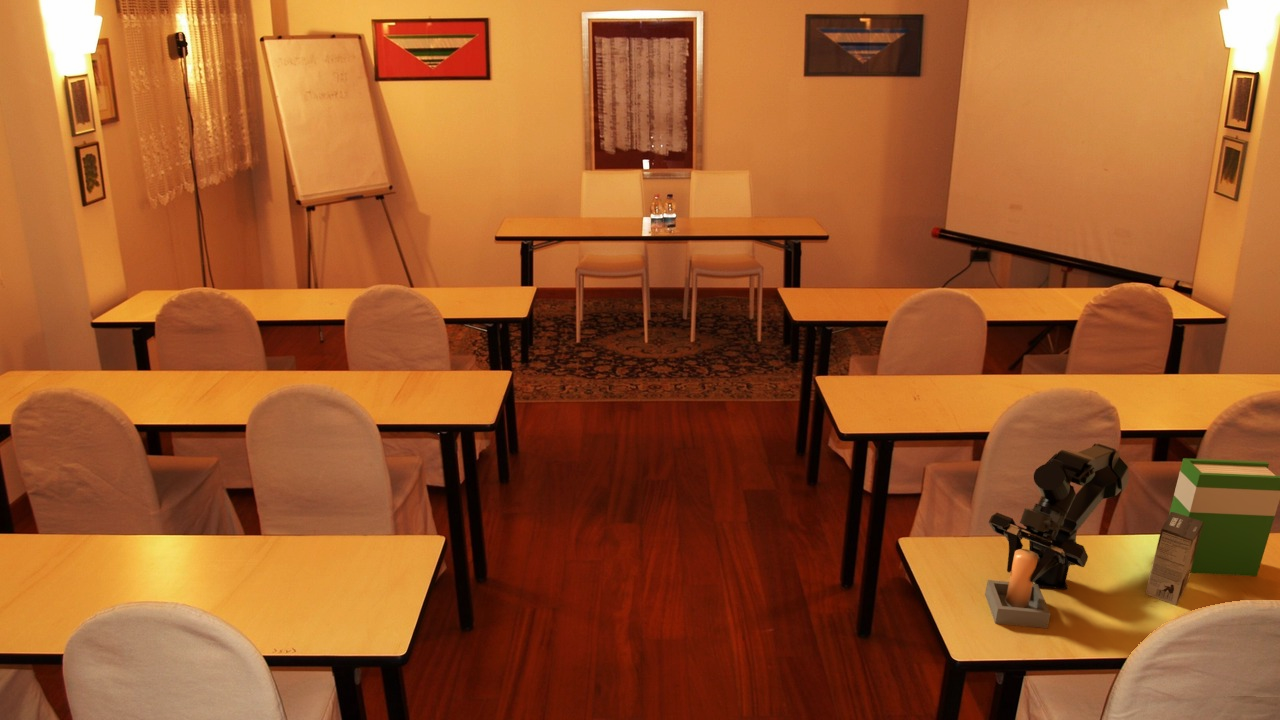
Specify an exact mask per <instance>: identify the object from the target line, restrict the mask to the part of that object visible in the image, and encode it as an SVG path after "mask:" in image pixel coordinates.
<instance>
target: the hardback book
mask: <svg viewBox="0 0 1280 720" xmlns="http://www.w3.org/2000/svg"><path fill="white" fill-rule="evenodd" d="M1181 462H1182V463H1181V466H1180V470H1179V472H1178V478H1177V482H1176V484H1175V485H1176V486H1175V490H1174V493H1173V498H1172V501H1171V505H1170V509H1169V513H1168V515H1169V514H1170V513H1171V512H1175V513H1178V514H1181V515H1185V516H1188V517H1190V518H1192V519H1195V520H1199V521H1202V522H1203V525H1202V529H1201V533H1200V537H1199V541H1198V545H1197V549H1196V552H1195V556H1194V560H1193V564H1192V568H1191V572H1190V574H1203V575H1218V576H1219V575H1220V576H1221V575H1223V576H1224V575H1226V576H1239V577H1240V576H1243V577H1258V574H1259V570H1260V567H1261V563H1262V561H1263V557H1264V555H1265V554H1264V553H1265V550H1266V546H1267V544H1268V540H1269V537H1270V534H1271V529H1272V526H1273V523H1274V521H1275V516H1276V513H1277V511H1278V506H1279V504H1280V475H1277V474H1274V473H1273V472H1272V471H1271V470H1270V469H1269V467H1270V466H1269V465H1270V464H1269V463H1268V461H1255V460H1253V461H1251V460H1249V461H1248V460H1234V459H1233V460H1231V459H1211V458H1210V459H1206V458H1205V459H1204V458H1187V457H1185V458H1182V461H1181Z"/></svg>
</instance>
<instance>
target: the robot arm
mask: <svg viewBox="0 0 1280 720" xmlns="http://www.w3.org/2000/svg"><path fill="white" fill-rule="evenodd" d="M1129 475H1130V474H1129V466H1128V465H1127V464H1126V462H1124V460H1123V459H1122V458H1121V457H1120V451H1119V450H1117V449H1116V448H1114V447H1111V446H1108V445H1106V444H1102V443H1094V444H1093V445H1092V446H1091V447H1087V448H1086V449H1083V450H1081V451H1077V452H1076V451H1074V450H1068V449H1061V450H1060V451H1058V452H1057V453H1055V454H1054V455H1053V456H1052V457H1051V458H1049V460H1047V462H1046V463H1044V464H1042V465H1039V466H1038V467H1037V468H1036V469H1035V471H1034V473H1033V481H1034V483H1035V485H1036V487H1037V489H1038V491H1039V493H1040V498H1039V500H1038V502H1037V503H1035V505H1034V506H1033V508H1032V509H1031V508H1028V507H1027V508H1026V507H1025V508H1024V510H1023V513H1022V515H1021V518H1020V521H1019V524H1021V525H1023V526H1024V527H1023V526H1020V525H1017V524H1016V522H1015V520H1014V518H1013V517H1010V516H1007V515H1005V514H1002V513H999V512H995V513H993V514H992V515H991V516H990V518H989V521H988V524H989V526H990V527H991V529H992V531H993V532H994V533H996V534H998V535H1001V536H1003V537H1005V538H1006V540H1007V542H1008V557H1007V567H1006V571H1007V573H1009V574H1011V569H1012V564H1013V559H1014V554H1015V551H1016V550H1018V549H1023V547H1024V545H1023V543H1022V539H1025V540H1027V541H1029V544H1028V545H1029V549H1028V550H1030V551H1032V552H1034V553H1036V554H1037V556H1038V561H1037V566H1036V569H1035V571H1034V572H1033V574H1032V577H1031V579H1030V581H1031V582H1032V583H1033V584H1038V586H1039V588H1044V589H1045V588H1046V589H1048V588H1049V589H1057V590H1058V589H1059V590H1060V589H1061V590H1068V589H1069V586H1068V584H1067V578H1068V574H1069V569H1070V568H1069V567H1070V566H1078V567H1081V568H1085V566H1086V564H1087V561H1088V558H1089V555H1088V553H1087V551H1086V548H1085V547H1084V545H1082V544H1079V543H1077V541H1076V540H1077V532H1078V531H1079V529H1080V528H1081V527H1082V526H1083V524H1084V523H1085V521H1086V520H1088V518H1089V517H1090V515H1091V514H1092V513H1093V512H1094V510H1096V508H1097V507H1098V506H1099V504H1100V503H1101V502H1102V501H1103V500H1106V499H1110V498H1115V497H1116V496H1118V495H1119V493H1121V491H1124V490H1125V489H1126V488H1127V485H1128V483H1129V479H1130V476H1129ZM1071 483H1073V484H1075V485H1078V486H1081V488H1080V489H1079V490H1078V491H1077V492H1076V491H1075V486H1074V485H1071Z"/></svg>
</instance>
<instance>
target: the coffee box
mask: <svg viewBox="0 0 1280 720" xmlns="http://www.w3.org/2000/svg"><path fill="white" fill-rule="evenodd" d="M1169 513H1170V512H1169ZM1169 513H1168V517H1167V518H1166V519H1165V521H1164V523H1163V525H1162V527H1161V530H1160V534H1159V537H1158V542H1157V545H1156V549H1155V554H1154V557H1153V561H1152V566H1151V569H1150V574H1149V576H1148V582H1147V585H1146V590H1145V595H1146V596H1150V597H1153V598H1154V599H1159V600H1161V601H1164V602H1166V603H1169V604H1171V605H1174V606H1177V605H1178V604H1179V602H1180V600H1181V598H1182V597H1183V594H1184V592H1185V591H1186V588H1187V586H1188V583H1189V578H1190V574H1191V573H1190V572H1191V568H1192V564H1193V560H1194V556H1195V552H1196V549H1197V545H1198V541H1199V537H1200V533H1201V529H1202V525H1203V522H1202V521H1199V520H1195V519H1192V518H1190V517H1188V516H1185V515H1181V514H1178V513H1175V512H1171V513H1170V514H1169Z"/></svg>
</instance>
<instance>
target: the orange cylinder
mask: <svg viewBox="0 0 1280 720" xmlns="http://www.w3.org/2000/svg"><path fill="white" fill-rule="evenodd" d="M1037 561H1038V556H1037V554H1036V553H1034V552H1032V551H1030V550H1029V549H1025V548H1022V549H1018V550H1016V551H1015V554H1014V559H1013V564H1012V569H1011V572H1010V577H1009V581H1008V582H1009V585H1008V590H1007V596H1006V602H1007V603H1008V604H1009V605H1011V606H1013V607H1018V608H1026V607H1028V606H1029V601H1030V596H1031V591H1032V586H1033V584H1034V582H1033V583H1032V582H1031V581H1030V579H1031V577H1032V574H1033V572H1034V571H1035V569H1036V566H1037Z"/></svg>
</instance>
